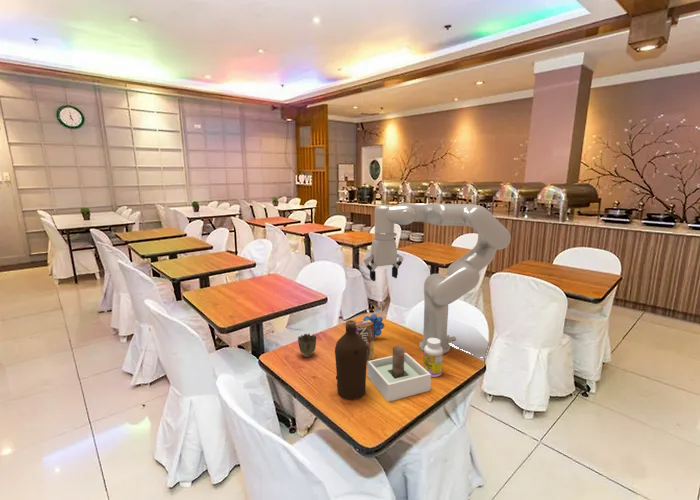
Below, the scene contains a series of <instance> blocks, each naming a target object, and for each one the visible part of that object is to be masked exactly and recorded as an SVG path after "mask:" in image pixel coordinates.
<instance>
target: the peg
mask: <svg viewBox="0 0 700 500" xmlns="http://www.w3.org/2000/svg"><path fill="white" fill-rule="evenodd" d="M404 353H405V347H403V346H400V345H397V346H396V345H395V346H394V347H392V356H393V360H392V376H393V377H394V378H395V379H396V378H400V377H404Z"/></svg>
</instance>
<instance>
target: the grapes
mask: <svg viewBox="0 0 700 500" xmlns="http://www.w3.org/2000/svg"><path fill="white" fill-rule="evenodd" d="M365 320H370V321H371V322H373V335H374V339H375V338H376V337H379V336H381V335H382V330H383V329H384V328H385V324H384V322H383V320H384V319H383V317H382V316H378V315H377V314H376V313H372V314H371V315H370V316H369V315H365V316H364V317H363V320H362V321H365Z"/></svg>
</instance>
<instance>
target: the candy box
mask: <svg viewBox="0 0 700 500" xmlns="http://www.w3.org/2000/svg"><path fill="white" fill-rule="evenodd" d="M355 322H356V321H355ZM356 333H357V334H358V335H359V336H360V337H361V338H362V339H363V340H364V341H365V343H366V346H367V361H371V360H375V350H374V349H375V343H374V342H375V341H374V340H375V338H374V335H373V322H371V321H370V320H365V321H363V320H362V321H357V322H356Z"/></svg>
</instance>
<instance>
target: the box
mask: <svg viewBox="0 0 700 500" xmlns="http://www.w3.org/2000/svg"><path fill="white" fill-rule="evenodd" d="M392 360H393V355H390V356H385V357H382V358H381V357H379V358H376V359H375V358H374V359H371V360H368V361H367V365H366V377H367V378H368V379H369V380H370V381H371V382H372V384H373V385H374V386H375V387H376V389H377V390H378V391H379V392H380V394H381V395H382V397H384V399H385V400H386V401H387V403H389V402H393V401H396V400H400V399H404V398H408V397H411V396H414V395H418V394H422V393H427V392H429V391H430V392H431V384H432V377H431V374H430V373H429V372H428V371H427V370H425V369H424V368H423V365H421V364H420V363H419V362H418V361H416V359H415V358H413V357H412V356H411V355H409V353H407V352H404V377H400V378H396V379H395V378H394V377H393V376H392Z"/></svg>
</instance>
